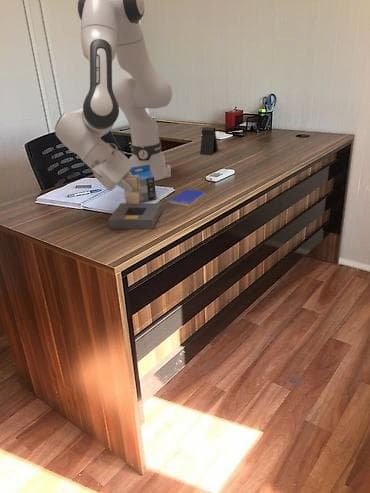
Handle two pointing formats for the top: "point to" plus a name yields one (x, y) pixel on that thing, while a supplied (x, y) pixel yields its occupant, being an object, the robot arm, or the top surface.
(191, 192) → the hard drive
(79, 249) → the top surface
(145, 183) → the label tape box
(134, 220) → the block
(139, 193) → the birch peg
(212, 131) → the phone stand
